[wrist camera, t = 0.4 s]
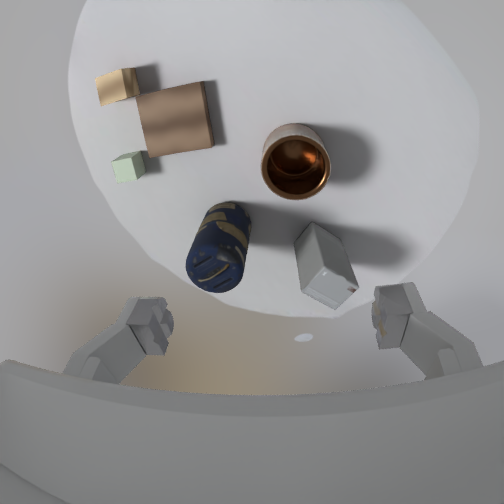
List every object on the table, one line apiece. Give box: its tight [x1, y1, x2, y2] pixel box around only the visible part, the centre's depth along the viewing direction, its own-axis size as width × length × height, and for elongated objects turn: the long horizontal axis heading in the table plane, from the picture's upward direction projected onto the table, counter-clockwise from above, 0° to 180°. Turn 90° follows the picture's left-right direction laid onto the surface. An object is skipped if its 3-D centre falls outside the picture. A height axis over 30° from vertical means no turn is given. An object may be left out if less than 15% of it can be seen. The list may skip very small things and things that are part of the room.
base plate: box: [136, 81, 214, 158], centre depth 50 cm, size 12×12×2 cm
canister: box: [186, 203, 251, 293], centre depth 54 cm, size 10×10×18 cm
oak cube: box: [95, 68, 140, 106], centre depth 45 cm, size 6×6×6 cm
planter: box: [261, 124, 331, 200], centre depth 49 cm, size 11×11×10 cm
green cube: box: [111, 151, 146, 184], centre depth 54 cm, size 4×4×4 cm
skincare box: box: [294, 222, 359, 310], centre depth 56 cm, size 8×7×16 cm
